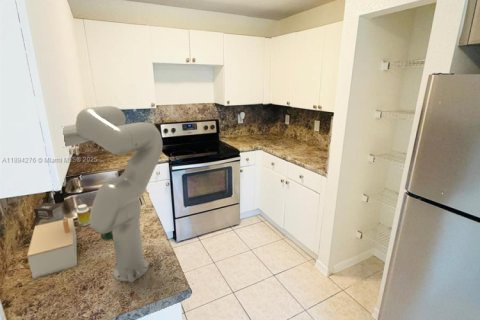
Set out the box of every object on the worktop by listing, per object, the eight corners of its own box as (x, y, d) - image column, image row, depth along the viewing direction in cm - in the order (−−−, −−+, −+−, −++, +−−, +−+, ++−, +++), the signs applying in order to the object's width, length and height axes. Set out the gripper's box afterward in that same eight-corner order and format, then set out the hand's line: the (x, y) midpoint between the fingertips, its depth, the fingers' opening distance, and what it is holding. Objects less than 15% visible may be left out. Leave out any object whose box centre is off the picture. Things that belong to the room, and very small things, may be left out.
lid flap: (73, 245, 100) (70, 232, 99) (27, 257, 93) (24, 243, 92) (73, 219, 120) (70, 208, 118) (35, 227, 113) (32, 215, 111)
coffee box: (39, 239, 120) (32, 208, 116) (50, 232, 126) (44, 202, 122) (57, 241, 119) (51, 209, 115) (68, 233, 125) (62, 203, 121)
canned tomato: (114, 240, 120) (111, 219, 117) (98, 240, 120) (94, 219, 117) (122, 231, 128) (119, 211, 125) (106, 231, 128) (103, 211, 125)
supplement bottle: (92, 223, 134) (89, 205, 132) (80, 227, 131) (77, 209, 128) (89, 220, 138) (86, 202, 135) (77, 223, 134) (74, 206, 131)
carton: (77, 266, 103) (73, 245, 100) (33, 279, 96) (27, 257, 93) (76, 237, 123) (73, 219, 120) (39, 246, 115) (35, 227, 113)
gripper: (63, 162, 95) (71, 204, 100) (64, 151, 109) (71, 189, 114) (38, 164, 91) (47, 208, 96) (42, 153, 105) (50, 192, 110)
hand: (60, 198), depth 105 cm, fingers open, 9 cm apart
